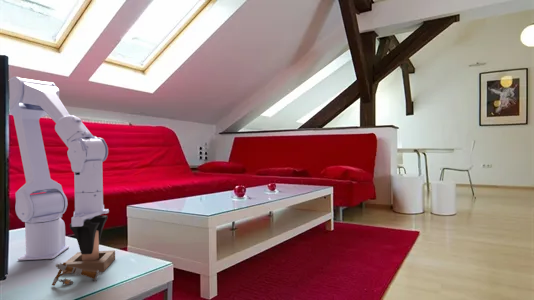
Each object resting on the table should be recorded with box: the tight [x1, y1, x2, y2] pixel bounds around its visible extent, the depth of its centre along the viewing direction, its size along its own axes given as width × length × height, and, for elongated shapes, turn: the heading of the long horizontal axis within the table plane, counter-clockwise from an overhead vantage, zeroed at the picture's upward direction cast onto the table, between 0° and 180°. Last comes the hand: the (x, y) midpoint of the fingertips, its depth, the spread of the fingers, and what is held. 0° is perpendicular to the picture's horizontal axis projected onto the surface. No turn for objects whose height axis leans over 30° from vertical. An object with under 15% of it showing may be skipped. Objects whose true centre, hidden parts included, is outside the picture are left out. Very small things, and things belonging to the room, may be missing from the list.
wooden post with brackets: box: [51, 261, 100, 287], centre depth 69 cm, size 2×8×4 cm, turn 118°
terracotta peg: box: [82, 230, 100, 261], centre depth 79 cm, size 4×4×6 cm
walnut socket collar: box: [61, 250, 116, 274], centre depth 79 cm, size 8×8×2 cm
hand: (90, 250), depth 79 cm, fingers closed on terracotta peg, 3 cm apart
